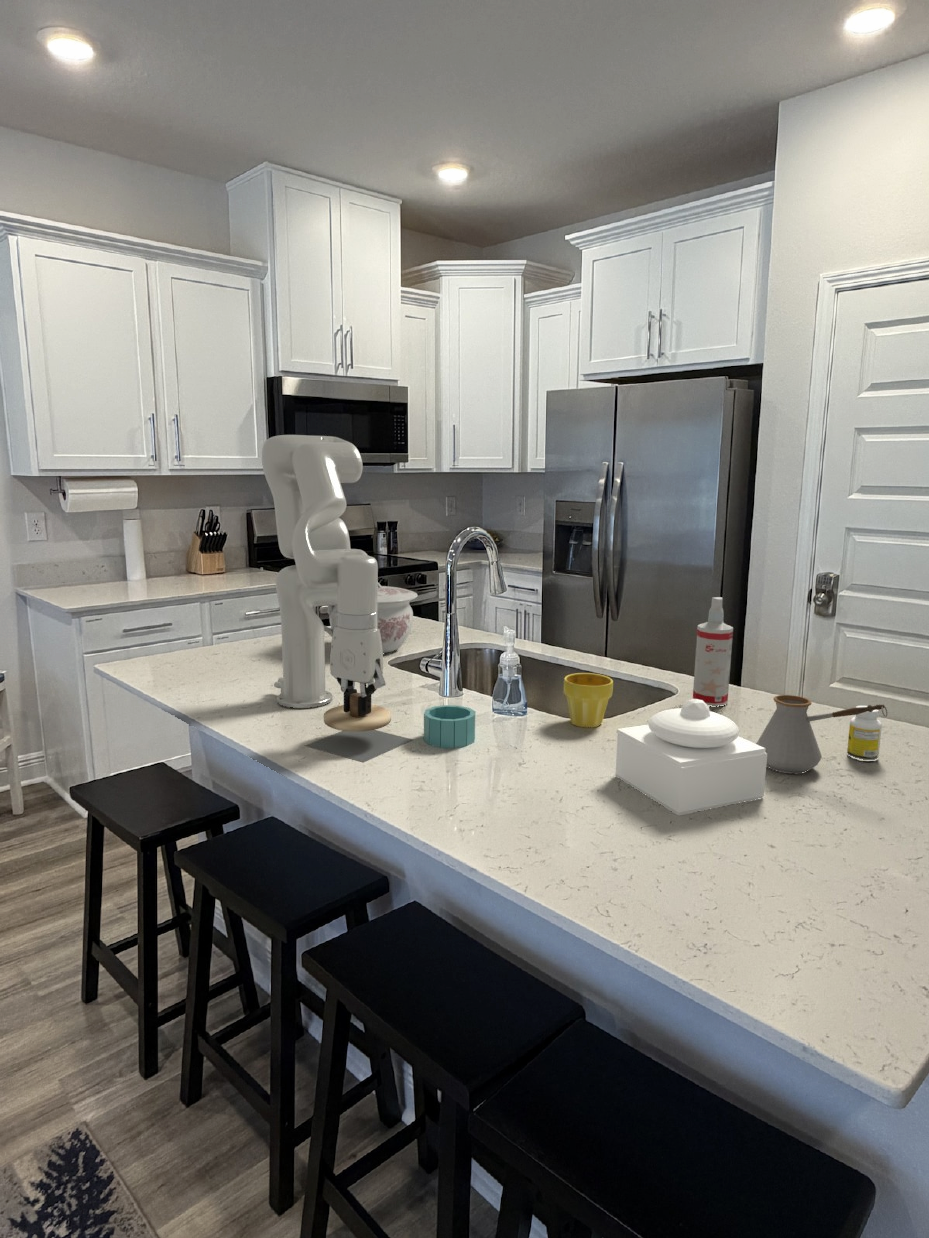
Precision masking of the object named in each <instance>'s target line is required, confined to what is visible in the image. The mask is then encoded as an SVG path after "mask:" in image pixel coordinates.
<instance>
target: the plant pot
mask: <svg viewBox="0 0 929 1238" xmlns="http://www.w3.org/2000/svg"><path fill="white" fill-rule="evenodd" d="M613 690H614V680H613V679H612V678H611V677H609V676H607V675H603V674H598V673H593V672H592V673H591V672H576V673H571V674H568V675H565V677H564V678H563V694H564V696H566V700H567V706H568V712H569V713H568V714H569V717H570V718H569V719H570V723H571V724H572V725H574V726H577V727H580V728H588V727H589V728H590V727H591V728H597V727H600V726H601V725H602V724H601V723H603V720H604V716H605V712H606V709H607V707H608V702H609V700H610V699H611V697H612V696H613V692H614V691H613ZM600 724H601V725H600ZM599 725H600V726H599Z"/></svg>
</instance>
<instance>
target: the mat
mask: <svg viewBox="0 0 929 1238" xmlns="http://www.w3.org/2000/svg"><path fill="white" fill-rule="evenodd" d="M412 741H414V739H413V738H409V737H404V736H402V735H396V734H393V733H389V732H385V731H380V730H378V729H375V730H370V731H360V732H352V731H342V730H339V732H336V733H333V734H329V735H327V736H325V737H323V738H320V739H318V740H315V741H313V742H310V743H307V744H304V745H303V746H304V747H307V748H310V749H315V750H318V751H320V752H321V751H322V752H325V753H328V754H332V755H336V756H339V757H343V758H346V759H350V760H354V761H357V762H361V763H365V762H367V761H370V760H372V759H374V758H377V757H379V756H381V755H383V754H385V753H388V752H390V751H392V750H394V749H396V748H399V747H402V746H404V745H405V744H407V743H410V742H412Z"/></svg>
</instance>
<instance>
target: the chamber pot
mask: <svg viewBox="0 0 929 1238" xmlns="http://www.w3.org/2000/svg"><path fill="white" fill-rule="evenodd" d="M418 596H419V595H418V593H417V592H416V591H413V590H409V589H407V588H402V587H396V586H389V585H387V586H386V585H381V584H380V583H379V582H378V605H377V628H378V629H379V630H380V635H381V641H382V651H383V653H386V654H389V653H392V652H395V651H397V650H399V649H400V648H402V646H403V645H404V643H406V641H407V639H408V637H409V635H410V634H411V631H412V626H413V622H414V620H413V619H414V611H413V608H412V607H411V605H410V602H411V601H413V600H415V599H416V598H417V597H418ZM326 607H327V614H328V615H329V617H328V619H329V625H330V627H329V626H327V625H324V632H326V633H327V634H329V636H331V638H332V636H333V631H334V627H335V626H336V625H338V618H337V617H335V613H336V611H337V604H335V605H326ZM312 609H313V611H314V612H315V613H316V609H317V606H316V607H313V608H312ZM394 650H395V651H394ZM388 652H389V653H388Z"/></svg>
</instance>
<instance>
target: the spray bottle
mask: <svg viewBox="0 0 929 1238" xmlns="http://www.w3.org/2000/svg"><path fill="white" fill-rule="evenodd" d="M723 599H724V598H723V597H721V596H716V597H714V596H713V597H711V607H710V608H709V610H708V619H707V621H706V622H703V623H700V624H698V625H697V628H696V630H697V631H696V646H695V660H694V661H695V662H694V673H693V677H694V678H693V689H692V699H699V700H703V701H704V702H705V703H706V704H707V705H712V706H718V705H719V706H720V705H725V704H727V705H728V704H729V703H728V700H729V689H730V688H729V687H730V678H731V677H730V673H731V662H732V647H733V636H734V634H733V633H734V627H733V626H731V625H728V624H727V623H725V622H724V617H725V616H724V613H725V612H724V608H723Z"/></svg>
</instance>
